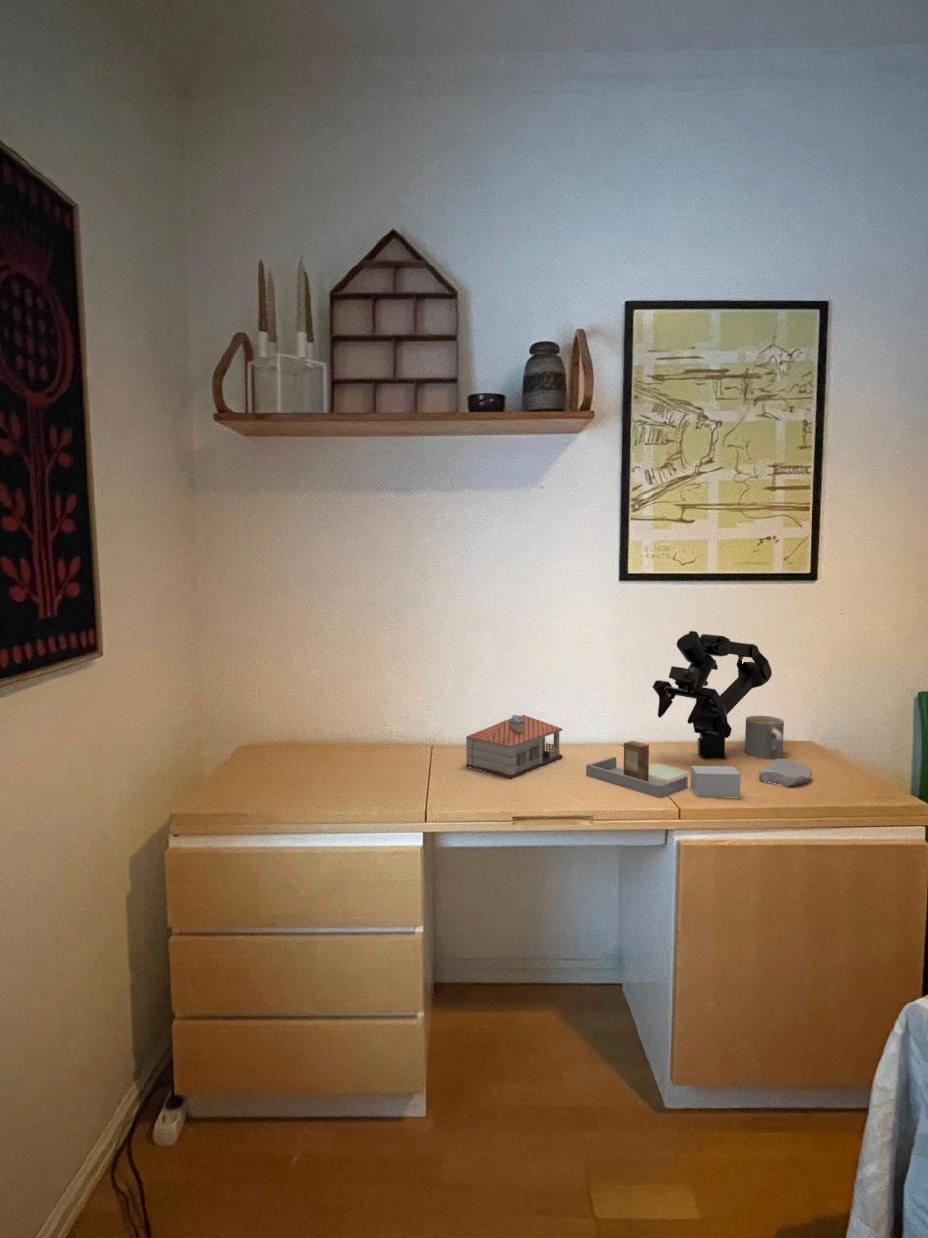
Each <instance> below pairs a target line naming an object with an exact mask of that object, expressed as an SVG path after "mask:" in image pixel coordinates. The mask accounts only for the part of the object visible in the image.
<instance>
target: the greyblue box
mask: <svg viewBox="0 0 928 1238" xmlns="http://www.w3.org/2000/svg"><path fill="white" fill-rule="evenodd" d="M741 776H742V775H741V773H740V771H738V770H737V769H736V767H734V766H730V765H729V766H723V765H722V766H719V765H690V790H691V791H692V792H693V794H694V796H695V797H703V796H704V798H706V797H707V798H708V797H709V798H710V797H711V798H718V797H740V798H741ZM705 796H706V797H705Z"/></svg>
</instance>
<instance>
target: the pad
mask: <svg viewBox="0 0 928 1238" xmlns="http://www.w3.org/2000/svg"><path fill="white" fill-rule="evenodd" d="M688 774H691V771H688V770H685V769H681V768H676V767H673V766H669V765H665V764H661V763H656V764H652V765H649V777H653V778H656V779H660V780H663V781H672V780H674V779H677V778H680V777H683V776H686V775H688Z"/></svg>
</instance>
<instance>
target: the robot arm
mask: <svg viewBox="0 0 928 1238" xmlns="http://www.w3.org/2000/svg"><path fill="white" fill-rule="evenodd" d="M676 647H677V649H678V650H679V652H680V653H681V654H682V656H683V658H684V659H685V660H686V662H688V663H690V664H689V665H688V668H686V667H681V666H680V667H679V666H672V665H671V668H670V671H669V674H668V679H672V680H674V685H675V686H677V687H674V686H672V684H671V683H670V681H666V680H662V679H661V680H660V679H657V680H655V681H654V683H653V685H652V689H653V690H654V691H655V692H656V694H657V695H658V708H657V717H658V718H661V719H662V717H663V716H664V715H665V713H666V712H667V711H668V709H669V708H670V707H671V705H672V704H673V703H674V701H673V700H674V699H675V698H676V696H678V697H679V696H680V697H685V698H691V699H695V704H694V706H693V708H692V710H691V711H690V714H689V716H688V719H687V721H686V722H687V723H688V724H689V725H690V724H691V725H692V726H693V729H694V733H696V734H699V737H698V738H697V750H696V751H697V753H698V754H699V756H700V757H701V758H702V759H716V760H717V759H719V760H723V759H725V760H726V759H727V756H726V751H725V749H726V739H729V737H731V733H732V727H731V725H730V724H729V722H728V714H729V713H730V712H731V711H732V710H733V709H734V708H735V707H736V706H737V705H738V704H739V703H740V702H741V700H743V699H744V698H745V696H747V694H748V693H749V692H750V691H751V690H752V689H755V688H759V687H762V686H764V685H765V684H767V683H768V682H769V681H770V679H771V677H772V674H773V672H772V667H771V665H770V663H769V660H768V658H766V657H765V656H764V654H762V653H761V652H760V649H759V647H758V645H757V644H754V643H746V642H737V641H731V640H730V638H729V637H727V636H724V635H717V634H708V633H703V634H701V635H699V633H698V632H697V630H696V631H695V630H693V631H692V630H690V631H689V632H688V633H686V634H684V635H682V636H681V637H680V638H678V639H677V642H676ZM728 655H734V656H737V657H738V659H737V661H736V667H737V678H736V679H735V680H734V681H732V683H731V684H730V685H729V686H728V687H727V688H725V690H724V691H723V692H722V693H721V694H720V693H718V691H717V690H716V689H715V688H710V687H708V684H709V682H708V681H707V680H708V678H709V676H710V674H711V672H712V670H715V671H717V670H718V668H719V667H718V664H717V660H716V659H714V657H726V656H728ZM743 658H751V660H752V661H749V662H744V663H743V664H742V659H743Z"/></svg>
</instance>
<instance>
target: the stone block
mask: <svg viewBox="0 0 928 1238" xmlns="http://www.w3.org/2000/svg"><path fill="white" fill-rule="evenodd" d="M812 774H813V773H812V770H811V768H810V767H808V766H807V765H804V764H802V763H799V762H797V761H795V760H794V761H793V760H791V759H785V758H784V759H783V758H778V759H772V761H770V762H769V763H768V765H767V766H761V767H760V768H759V774H758V778H759V781H760V782H761V781H766V782H771V783H776V784H780V785H783V786H786V787H785V788H790V787H789V786H791V787H793V786H792V785H795V786H797V785H796V784H799V785H802V784H801V783H803V784H806V783H810V781H811V780H810V779H811V777H812V776H813V775H812ZM766 782H765V783H766ZM805 782H806V783H805ZM776 784H775V785H776ZM780 785H779V786H780ZM783 786H782V787H783Z"/></svg>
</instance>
